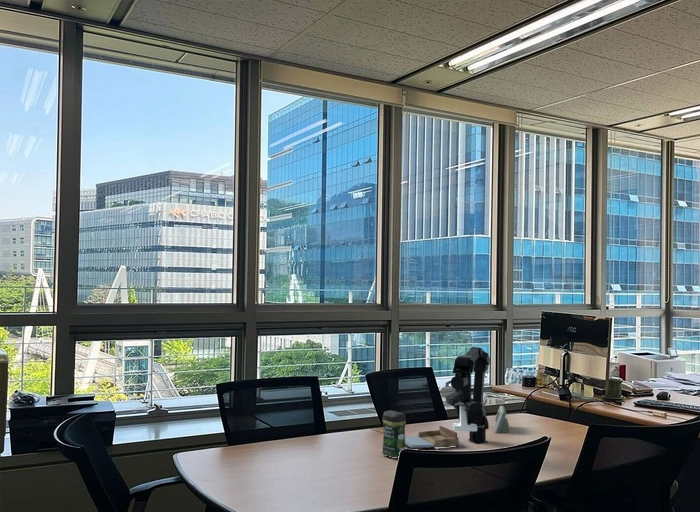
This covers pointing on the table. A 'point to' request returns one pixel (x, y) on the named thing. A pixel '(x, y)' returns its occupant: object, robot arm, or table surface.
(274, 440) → the table surface
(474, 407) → the robot arm
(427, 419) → the table surface
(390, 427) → the coffee jar
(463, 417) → the cable organizer
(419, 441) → the panel
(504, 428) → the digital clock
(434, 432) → the tray
